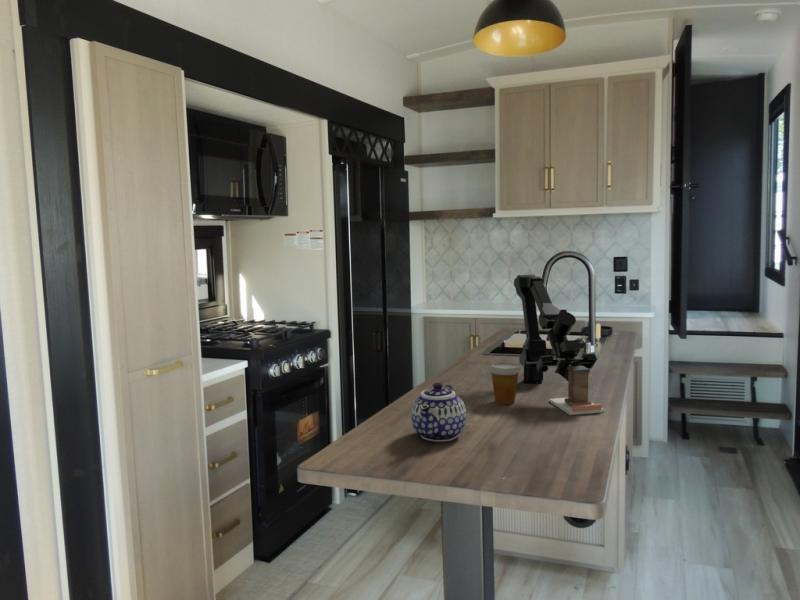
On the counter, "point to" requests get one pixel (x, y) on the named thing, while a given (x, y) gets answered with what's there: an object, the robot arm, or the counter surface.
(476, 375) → the counter surface
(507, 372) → the disposable coffee cup
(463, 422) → the teapot
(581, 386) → the brown wooden pedestal
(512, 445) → the counter surface
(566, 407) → the thin white base plate
